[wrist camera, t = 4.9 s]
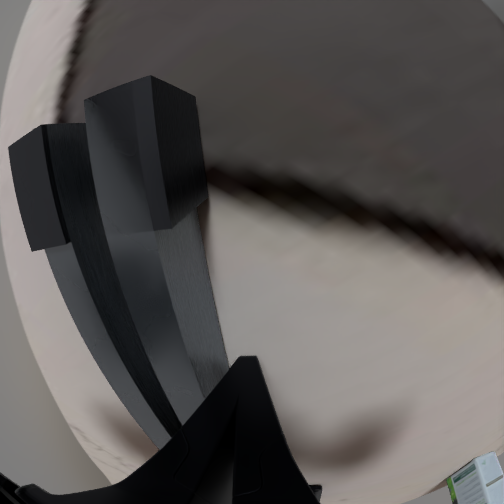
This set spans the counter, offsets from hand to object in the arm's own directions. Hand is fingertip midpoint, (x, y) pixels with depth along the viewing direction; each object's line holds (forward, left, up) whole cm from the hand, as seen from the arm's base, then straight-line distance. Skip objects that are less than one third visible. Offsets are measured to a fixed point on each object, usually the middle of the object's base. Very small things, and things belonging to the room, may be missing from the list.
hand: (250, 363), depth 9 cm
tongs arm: (0, +2, -1) cm, 2 cm away
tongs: (-1, +3, -1) cm, 4 cm away
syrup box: (-30, -25, -2) cm, 39 cm away
